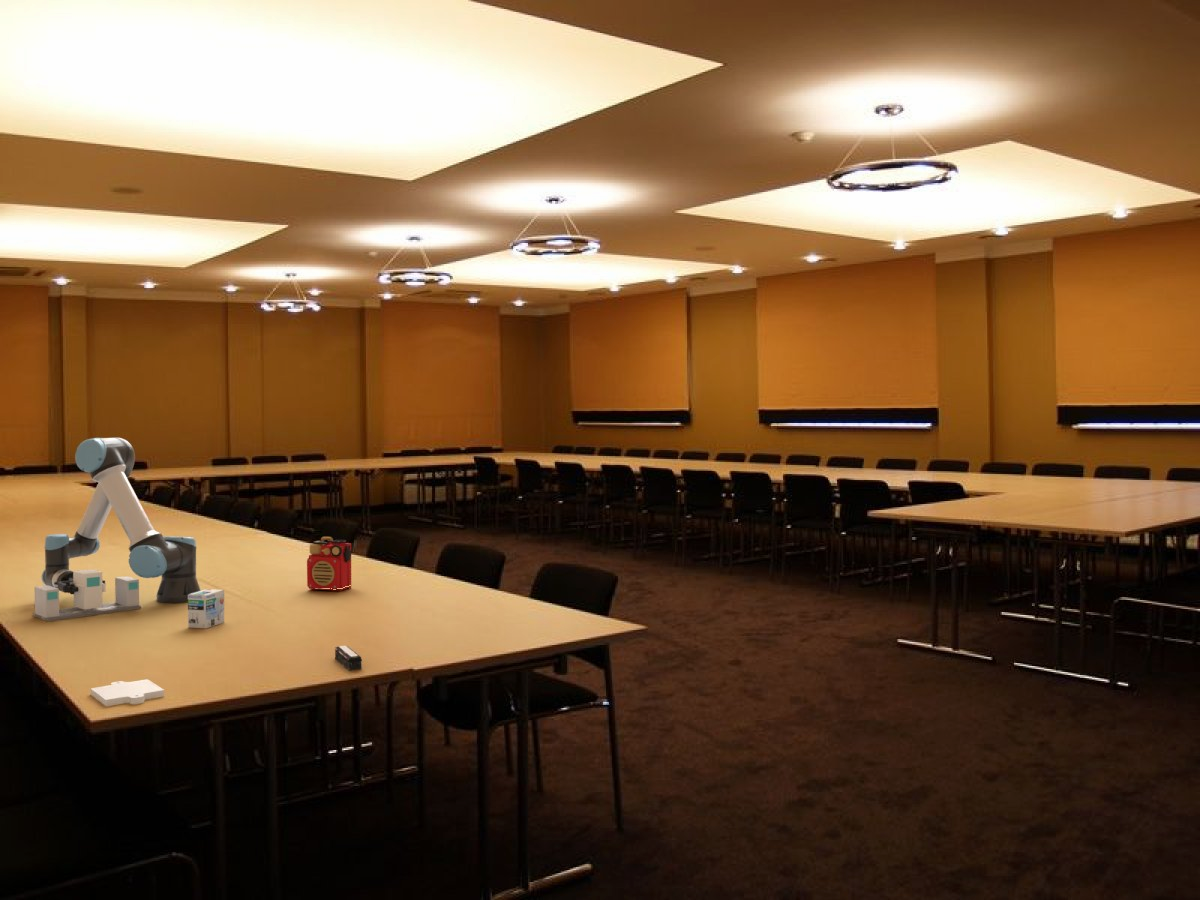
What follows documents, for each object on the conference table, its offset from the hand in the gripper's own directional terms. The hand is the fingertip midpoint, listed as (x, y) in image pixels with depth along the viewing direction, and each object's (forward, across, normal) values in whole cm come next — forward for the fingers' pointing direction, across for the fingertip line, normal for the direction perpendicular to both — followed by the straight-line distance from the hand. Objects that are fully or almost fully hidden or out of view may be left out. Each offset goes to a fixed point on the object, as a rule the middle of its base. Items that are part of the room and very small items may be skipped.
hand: (93, 589), depth 336 cm
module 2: (-5, -13, -8) cm, 16 cm away
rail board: (-5, 0, -8) cm, 10 cm away
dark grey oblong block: (+118, -22, -9) cm, 120 cm away
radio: (+15, -81, -9) cm, 83 cm away
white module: (-5, 0, -7) cm, 8 cm away
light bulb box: (+44, -18, -9) cm, 48 cm away
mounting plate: (+107, +33, -9) cm, 113 cm away
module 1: (-5, +13, -8) cm, 16 cm away
